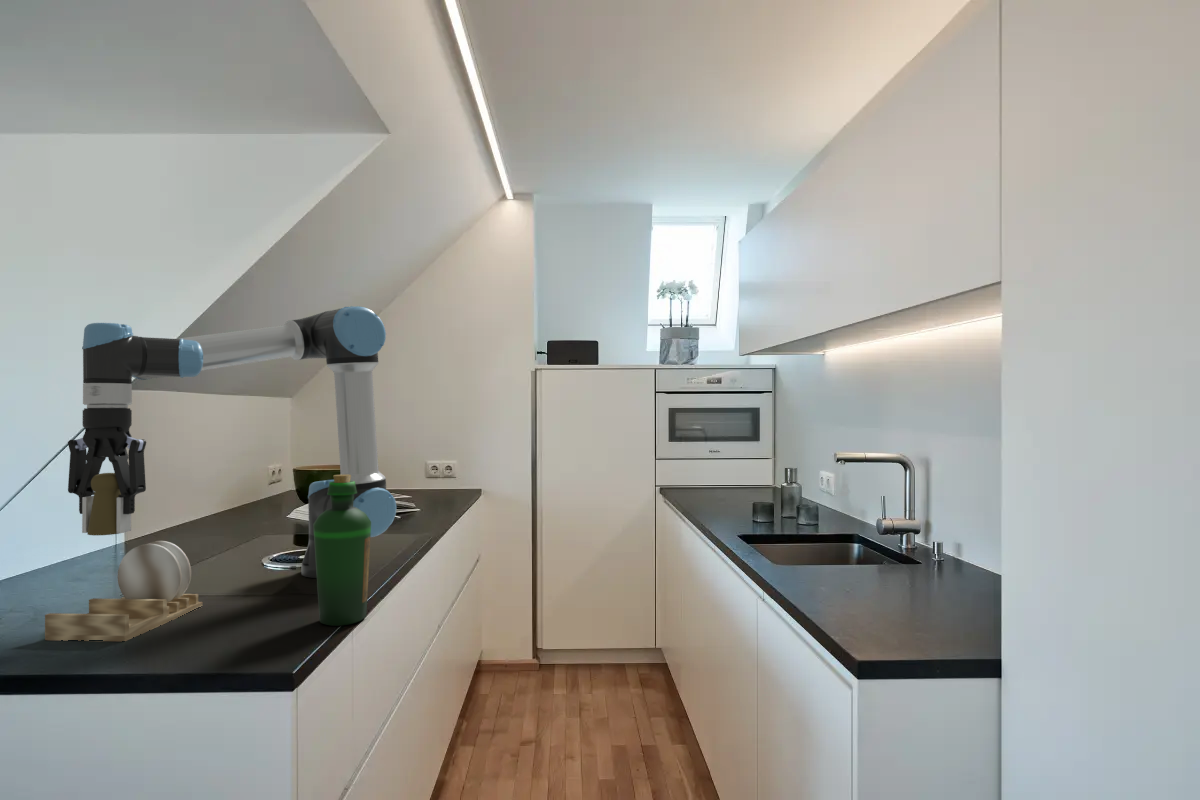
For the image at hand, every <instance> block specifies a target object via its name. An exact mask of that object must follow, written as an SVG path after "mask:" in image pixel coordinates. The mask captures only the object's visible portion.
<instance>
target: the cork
mask: <svg viewBox="0 0 1200 800" xmlns="http://www.w3.org/2000/svg"><path fill="white" fill-rule="evenodd" d="M91 488H92V489H93V491H94V495H93V496H94V498H93V504H92V510H91V516H90V522H89V527H88V533H87V535H88V536H110V535H111V536H113V535H119V534H120V533H117V497H119V496H118V495H121V493H120V489H119V486H118V482H117V479H116V475H115V472H103V473H99V474H97V475H95V476H94V477H93V478H92V480H91ZM123 533H125V532H123ZM123 533H122V534H123Z"/></svg>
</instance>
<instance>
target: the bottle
mask: <svg viewBox="0 0 1200 800" xmlns="http://www.w3.org/2000/svg"><path fill="white" fill-rule="evenodd" d="M350 479H351V475H348V474H343V475H340V474H334V475H333V480H334V482H330V483H329V488H328V493H327V494H328V495H330V497H331V507H332V508H330V509H327V510H326V511H324V512H323V513H322V514H320V515H319V516H318V518H317V519H316V521H315V522H314V524H313V528H314V543H315V559H316V574H317V578H316V587H317V588H316V589H317V600H318V601H317V602H318V617H319V623H320V624H323V625H326V626H330V627H342V626H350V625H354V624H356V623H359V622H361V621H363V620H364V619H365V618H367V613H368V612H367V611H368V610H367V609H368V607H367V606H368V593H369V592H368V589H369V588H368V587H369V574H370V573H369V572H370V555H371V554H370V551H371V537H370V536H371V521H370V519H369V518H368V516H367V515H366V514H365V513H364V512H363V511H361V510H360V509H358V508H356V507H353V503H354V494H356V493H357V490H356V485H355V481H350Z"/></svg>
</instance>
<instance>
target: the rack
mask: <svg viewBox="0 0 1200 800" xmlns="http://www.w3.org/2000/svg"><path fill="white" fill-rule="evenodd" d="M191 579H192V567H191V564H190V559H189V558H188V556H187V555H186V553H185V552H184V551H183V549H182V548H180V547H179V546H178V545H176V544H175V543H173V542H170V541H166V540H156V541H151V542H149V543H146V544H145V543H144V544H141V545H137V546H135V547H133V548H132V549H130V550H129V551H128V552H127V553H126V554H125V555H124V556H123V557H122V559H121V561H120V562H119V566H118V569H117V583H118V584H117V585H118V588H119V590H120V592H121V594H122V595H123V596H122V597H120V598H100V597H99V598H95V597H94V598H91V599H88V612H87V613H64V612H63V613H60V612H59V613H57V612H55V613H53V612H52V613H51V612H50V613H46V614H44V640H45V641H61V640H63V642H64V641H66V642H67V641H68V640H78V641H79V642H80V641H81V640H84V641H83V642H90V641H89V640H103V641H102V642H122V641H125V642H127V641H129V640H131V639H134V638H136V637H138V636H140V634H141V635H143V634H145V633H147V632H149V630H150V631H152V630H153V629H156V628H158V627H161V626H163V625H164V624H167V623H169V621H170V622H171V620H172V621H174V620H176V619H178V617H179V618H181V617H183V616H185V615H187V614H186V613H188V612H190V611H192V610H194V609H196V608H198V607H201V606H203V605H204V603H203V601H199V593H186V591H187V589H188V588H189V587H190V583H191ZM203 607H204V606H203ZM201 608H202V607H201ZM196 610H197V609H196ZM194 611H195V610H194ZM192 612H193V611H192ZM190 613H191V612H190ZM184 614H185V615H184ZM188 614H189V613H188ZM182 615H183V616H182ZM180 616H181V617H180ZM160 625H161V626H160ZM133 637H134V638H133ZM78 641H77V642H78ZM81 642H82V641H81Z"/></svg>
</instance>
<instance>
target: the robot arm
mask: <svg viewBox="0 0 1200 800" xmlns="http://www.w3.org/2000/svg"><path fill="white" fill-rule="evenodd" d="M386 335H387V333H386V328H385V325H384V323H383V321H382V319H381V318H380V317H379V316H378V315H377V314H376V313H375V312H374V311H373V310H371V309H369V308H367V307H364V306H360V305H359V306H358V305H357V306H352V305H351V306H344V307H342V308H337V309H333V310H327V311H323V312H320V313H316V314H314V315H310V316H307V317H303V318H299V319H291V320H287V321H286V322H285V324H284V325H276V326H270V327H269V326H268V327H262V328H254V329H253V328H251V329H245V330H236V331H229V332H219V333H212V334H204V335H196V336H188V337H181V338H169V337H168V338H167V337H165V338H163V337H148V336H147V337H146V336H145V337H144V336H138V335H134V333H133V328H132V327H131V326H130V325H128V324H124V323H123V324H122V323H115V322H92V323H88V324H87V325H85V327H84V331H83V339H82V340H83V341H82V349H81V350H82V375H83V376H82V380H83V381H82V404H83V405H84V406H86V408H83V409H82V427H83V428H84V433H83V435H82V437H81V438H78V439H77V438H76V439H70V440H68V441H67V446H68V449H69V452H70V455H69V466H68V467H69V471H68V485H67V493H69V494H75V495H77V496H78V512H79V515H82V516H81V517H82V518H81V526H82V527H81V529H82V530H81V533H82V534H86V533H88V527H89V522H90V516H91V510H92V504H93V498H94V491H93V489H92V488H91V480H92V478H93V477H94V476H95V475H97V474H100V472H101V470H102V469H101V468H102V465H103V462H105V460H106V459H108V461H109V462H110V463H111V465H112V468H113V469H112V470H113V473H115V475H116V479H117V482H118V486H119V489H120V493H121V495H118V496H119V497H117V533H119V534H123V532H124V533H128V532H131V531H132V514H134V513H135V509H136V506H135V505H136V503H135V502H136V500H135V499H136V498H135V497H136V495H138V494H141V493H144V492H145V491H146V489H147V488H146V485H147V484H146V468H145V466H146V465H145V450H146V445H147V440H146V439H137V438H135V437H132V435H131V432H130V428H131V426H132V423H133V422H132V412H133V411H132V409H131V408H129V406H131V405H132V404H133V391H132V390H133V388H132V387H133V384H132V383H133V380H132V378H134V379H138V380H141V381H144V380H150V379H157V378H158V379H160V378H171V377H172V378H182V379H183V378H194V377H197V376H198V375H200V374H201V371H205V370H206V371H207V370H213V369H220V368H227V367H233V366H239V365H246V364H254V363H259V362H266V361H272V360H278V359H279V360H280V359H285V358H291V359H292V360H294V361H301V360H307V359H326V360H325V361H326V367H327V368H329V369H330V371H332V373H333V377H334V378H333V379H334V390H335V391H334V392H335V393H334V395H335V406H336V407H335V409H336V422H337V439H338V454H339V467H340V469H339V470H340V474H339V475H343V474H348V475H351V479H350V481H355V485H356V490H357V493H356V494H354V503H353V507H356V508H358V509H360V510H361V511H363V512H364V513H365V514H366V515H367V516H368V518H369V519H370V521H371V536H370V538H374V537H378V536H380V535H382V534H383V533H385V532H386V531H387V530H389V527H390V526H391V525H392V524H393V522H394V520H395V517H396V515H397V501H396V498H395V497H394V495H392V494H391V492H390V491H389V490H387V478H386V476H385V475H384V474H383V473H382V472H381V471H379V461H378V460H379V458H378V457H379V456H378V443H377V442H378V441H377V425H376V413H375V412H376V408H375V394H374V377H373V376H374V375H373V371H374V370H375V368H376V367H377V366H378V365H379V352H380V351H381V349H382V348H383V346H384V345H385V342H386V338H387V337H386ZM127 449H128V451H127ZM330 482H334V479H327V480H319V481H314V482H311V483H310V484H309V487H308V495H307V500H308V501H307V502H308V503H307V504H308V505H307V506H308V544H307V548H306V550H305V553H304V556H303V560H302V562H301V565H300V567H301V572H300V573H301V574H300V575H301V576H303V577H306V578H309V579H310V578H312V579H317V574H316V559H315V543H314V528H313V524H314V522H315V521H316V519H317V518H318V516H319V515H320V514H322V513H323V512H324V511H326V510H327V509H330V508H332V507H331V497H330V495H328V494H327V493H328V488H329V483H330Z"/></svg>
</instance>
